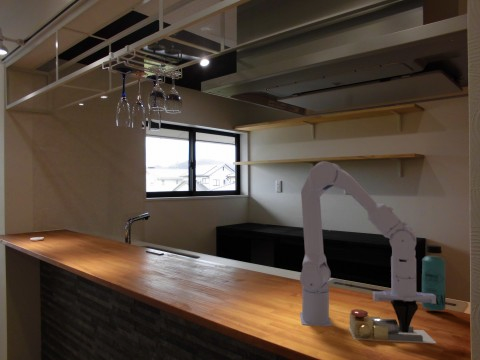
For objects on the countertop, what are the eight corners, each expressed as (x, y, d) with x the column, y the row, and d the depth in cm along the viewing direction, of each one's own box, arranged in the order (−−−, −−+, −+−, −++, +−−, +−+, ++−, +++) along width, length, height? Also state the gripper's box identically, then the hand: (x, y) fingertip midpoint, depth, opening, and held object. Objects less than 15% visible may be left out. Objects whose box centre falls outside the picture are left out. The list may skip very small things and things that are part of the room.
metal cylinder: (368, 328, 94) (369, 314, 93) (392, 329, 93) (394, 315, 92) (372, 338, 90) (373, 324, 89) (397, 340, 90) (399, 325, 89)
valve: (347, 325, 97) (347, 305, 97) (378, 327, 97) (378, 306, 97) (355, 340, 88) (355, 318, 88) (389, 342, 87) (389, 319, 87)
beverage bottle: (420, 307, 114) (420, 243, 114) (444, 310, 111) (444, 244, 112) (422, 314, 108) (421, 246, 108) (447, 317, 105) (447, 247, 106)
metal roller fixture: (347, 328, 97) (347, 322, 97) (423, 331, 95) (423, 325, 95) (354, 340, 89) (354, 334, 89) (436, 344, 87) (436, 338, 87)
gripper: (377, 278, 88) (378, 335, 88) (441, 280, 87) (441, 338, 87) (370, 272, 95) (370, 325, 95) (429, 273, 94) (429, 327, 94)
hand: (403, 330), depth 91 cm, fingers closed
